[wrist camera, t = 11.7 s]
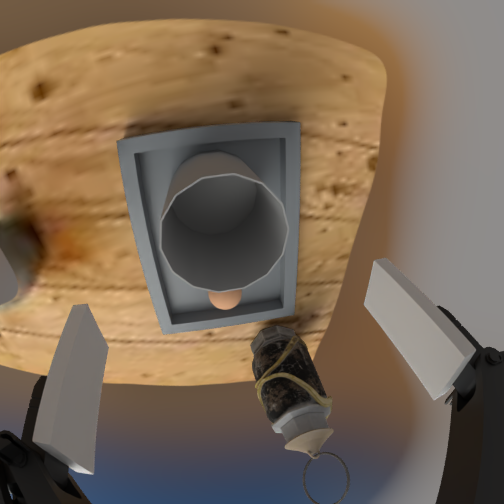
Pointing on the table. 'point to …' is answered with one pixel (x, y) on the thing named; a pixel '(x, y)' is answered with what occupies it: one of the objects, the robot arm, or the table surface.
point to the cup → (221, 224)
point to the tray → (152, 202)
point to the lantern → (292, 393)
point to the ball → (225, 299)
